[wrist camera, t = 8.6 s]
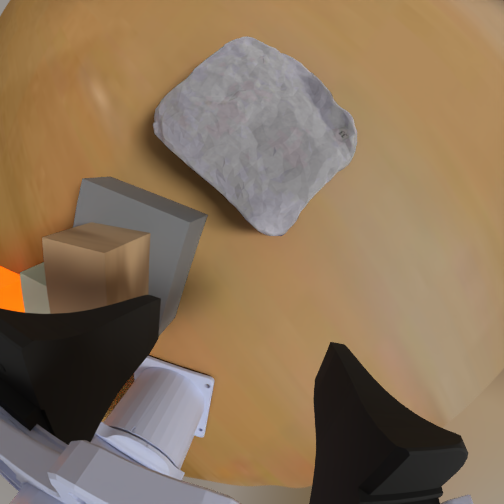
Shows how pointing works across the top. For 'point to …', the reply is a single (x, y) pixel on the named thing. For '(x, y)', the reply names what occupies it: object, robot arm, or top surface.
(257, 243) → the top surface
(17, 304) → the orange juice
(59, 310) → the walnut block
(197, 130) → the stone block
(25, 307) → the sage block
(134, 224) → the charcoal block
